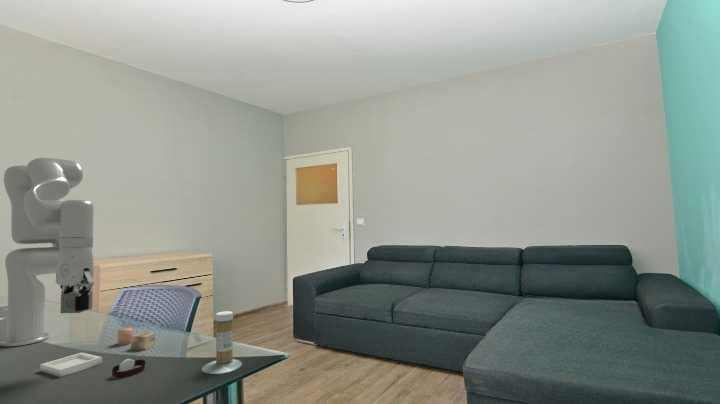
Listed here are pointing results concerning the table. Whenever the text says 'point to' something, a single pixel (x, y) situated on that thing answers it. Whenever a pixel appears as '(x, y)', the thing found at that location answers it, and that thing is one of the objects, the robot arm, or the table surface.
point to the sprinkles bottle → (224, 337)
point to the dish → (70, 364)
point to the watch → (128, 368)
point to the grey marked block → (72, 302)
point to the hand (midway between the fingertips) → (75, 308)
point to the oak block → (143, 340)
